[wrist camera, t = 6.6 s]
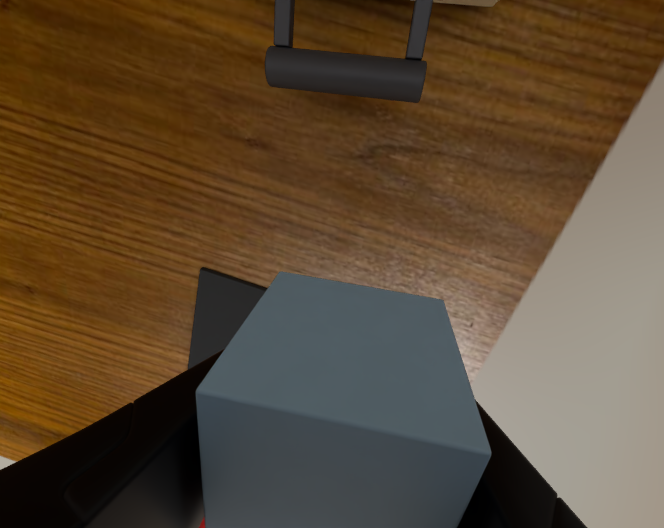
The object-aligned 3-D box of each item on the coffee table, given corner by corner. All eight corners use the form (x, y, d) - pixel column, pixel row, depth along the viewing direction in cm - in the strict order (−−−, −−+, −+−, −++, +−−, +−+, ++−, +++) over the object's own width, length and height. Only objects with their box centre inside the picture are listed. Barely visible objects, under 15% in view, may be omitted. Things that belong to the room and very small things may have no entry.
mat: (418, 338, 23) (419, 342, 23) (326, 523, 33) (325, 527, 33) (202, 266, 23) (199, 269, 23) (176, 471, 33) (174, 474, 33)
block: (443, 298, 8) (494, 455, 4) (408, 419, 9) (422, 606, 6) (279, 270, 8) (193, 390, 5) (272, 391, 10) (205, 551, 6)
